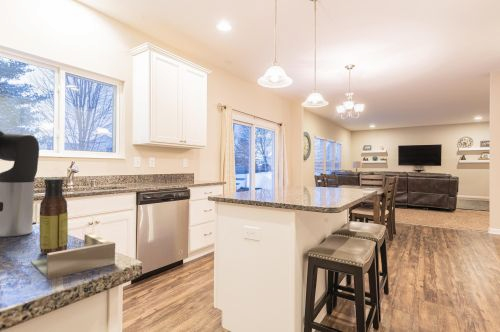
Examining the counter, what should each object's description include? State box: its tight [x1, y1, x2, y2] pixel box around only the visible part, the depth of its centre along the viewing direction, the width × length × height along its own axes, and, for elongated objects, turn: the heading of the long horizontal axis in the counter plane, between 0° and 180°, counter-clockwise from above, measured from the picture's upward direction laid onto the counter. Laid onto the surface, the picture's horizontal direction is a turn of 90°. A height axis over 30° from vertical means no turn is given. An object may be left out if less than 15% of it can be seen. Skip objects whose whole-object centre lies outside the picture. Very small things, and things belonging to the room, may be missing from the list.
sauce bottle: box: [39, 177, 69, 255], centre depth 75 cm, size 7×6×20 cm
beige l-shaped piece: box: [30, 232, 116, 280], centre depth 67 cm, size 14×14×5 cm
